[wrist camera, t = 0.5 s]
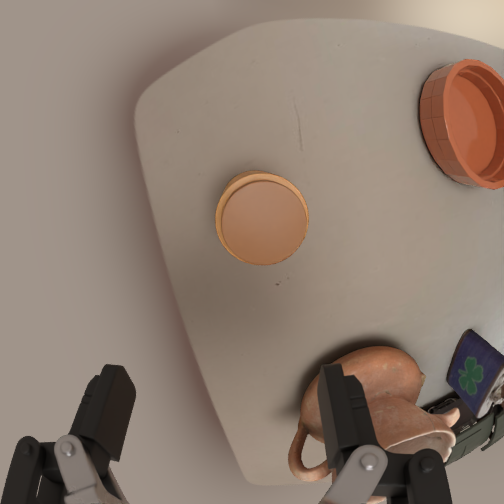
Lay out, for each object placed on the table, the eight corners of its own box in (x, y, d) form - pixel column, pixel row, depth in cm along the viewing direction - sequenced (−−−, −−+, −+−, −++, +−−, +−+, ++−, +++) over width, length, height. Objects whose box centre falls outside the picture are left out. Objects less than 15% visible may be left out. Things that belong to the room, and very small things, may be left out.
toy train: (557, 313, 34) (591, 337, 23) (547, 348, 36) (577, 373, 26) (370, 424, 35) (397, 483, 24) (370, 454, 37) (391, 505, 27)
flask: (455, 380, 34) (492, 424, 24) (441, 384, 34) (478, 431, 24) (475, 326, 31) (523, 367, 21) (461, 329, 31) (510, 373, 21)
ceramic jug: (417, 313, 30) (493, 388, 16) (412, 397, 34) (458, 469, 20) (263, 362, 30) (279, 475, 17) (289, 439, 34) (306, 528, 21)
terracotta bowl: (401, 68, 22) (425, 56, 18) (482, 69, 22) (506, 63, 18) (431, 194, 26) (458, 200, 22) (504, 174, 26) (529, 178, 21)
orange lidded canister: (213, 181, 25) (200, 190, 16) (277, 162, 25) (300, 162, 16) (232, 243, 26) (230, 283, 18) (294, 225, 26) (322, 256, 18)
